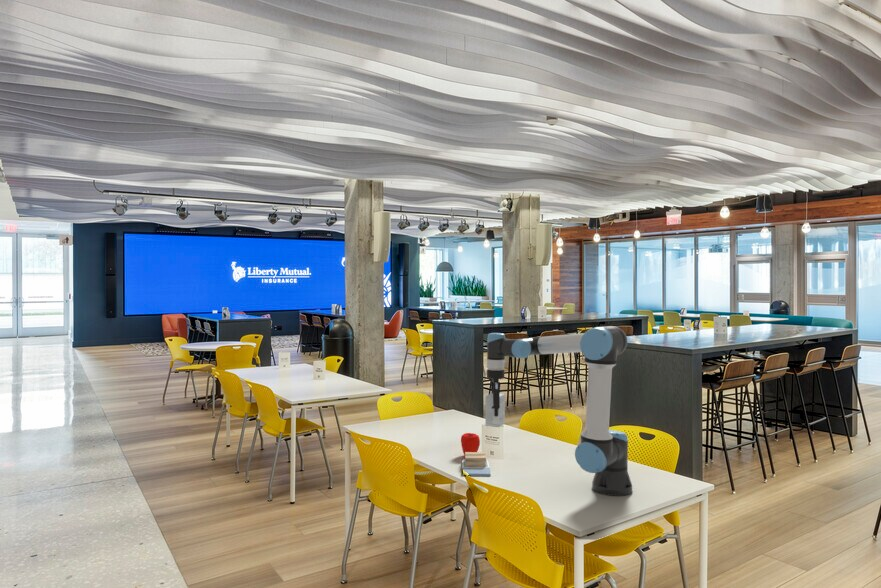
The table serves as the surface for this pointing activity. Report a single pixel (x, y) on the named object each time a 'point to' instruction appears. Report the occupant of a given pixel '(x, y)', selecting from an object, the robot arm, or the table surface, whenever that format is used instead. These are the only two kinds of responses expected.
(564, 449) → the table surface
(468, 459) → the plinth
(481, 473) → the board
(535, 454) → the table surface
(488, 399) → the small box
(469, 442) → the apple
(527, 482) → the table surface
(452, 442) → the table surface
